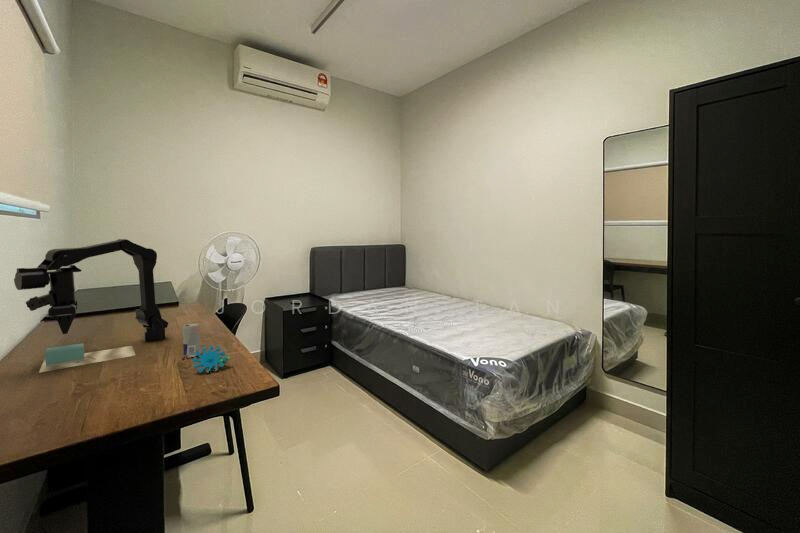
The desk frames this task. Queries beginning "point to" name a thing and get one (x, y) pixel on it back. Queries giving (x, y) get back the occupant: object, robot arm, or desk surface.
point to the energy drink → (191, 339)
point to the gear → (210, 359)
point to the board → (94, 358)
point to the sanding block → (64, 354)
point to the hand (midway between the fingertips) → (65, 330)
